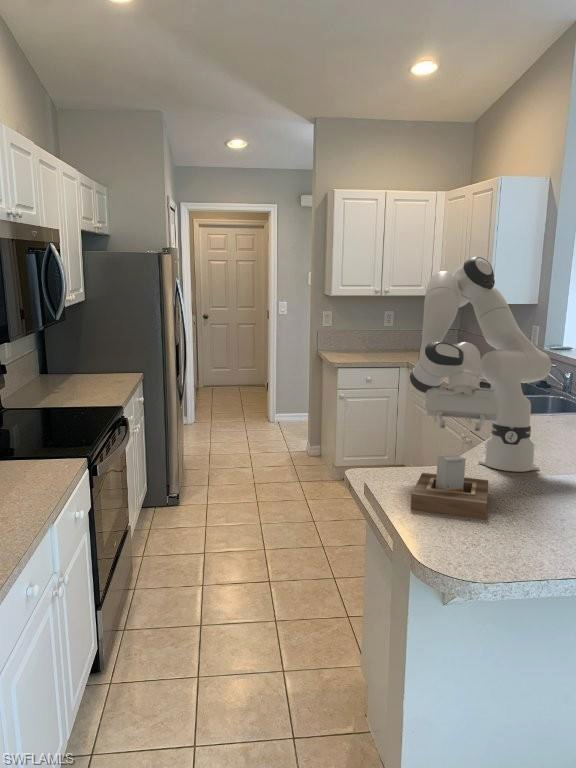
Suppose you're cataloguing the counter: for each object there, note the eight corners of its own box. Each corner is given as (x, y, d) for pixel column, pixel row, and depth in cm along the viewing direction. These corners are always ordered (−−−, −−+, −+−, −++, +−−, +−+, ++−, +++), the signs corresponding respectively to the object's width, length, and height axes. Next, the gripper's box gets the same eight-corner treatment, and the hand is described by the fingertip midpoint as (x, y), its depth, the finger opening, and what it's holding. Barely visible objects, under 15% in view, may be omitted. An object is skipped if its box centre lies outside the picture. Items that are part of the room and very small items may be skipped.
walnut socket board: (421, 486, 166) (422, 471, 165) (487, 494, 160) (488, 479, 159) (410, 509, 145) (411, 492, 145) (485, 519, 139) (487, 502, 139)
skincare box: (444, 504, 150) (447, 459, 148) (434, 499, 154) (436, 455, 152) (463, 502, 152) (466, 458, 151) (453, 497, 156) (455, 454, 155)
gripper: (426, 380, 169) (421, 418, 161) (500, 385, 162) (499, 424, 154) (427, 394, 174) (422, 431, 166) (499, 398, 167) (497, 438, 159)
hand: (459, 428), depth 160 cm, fingers open, 8 cm apart
